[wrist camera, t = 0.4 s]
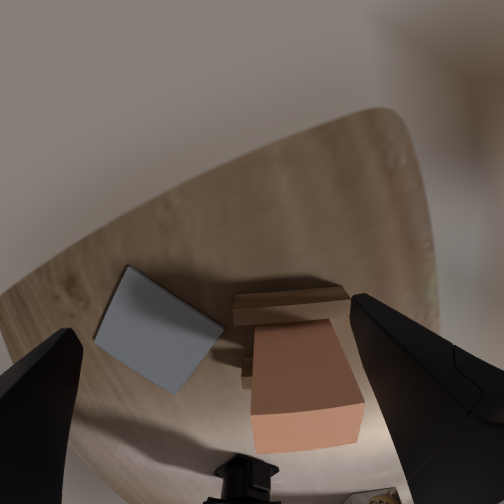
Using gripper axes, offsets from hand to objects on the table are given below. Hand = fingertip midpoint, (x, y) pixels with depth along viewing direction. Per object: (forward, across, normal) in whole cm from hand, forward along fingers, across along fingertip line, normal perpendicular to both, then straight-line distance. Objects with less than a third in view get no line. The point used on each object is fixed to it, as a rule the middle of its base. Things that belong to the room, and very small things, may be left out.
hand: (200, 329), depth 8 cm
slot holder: (+13, -4, +12) cm, 18 cm away
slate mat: (+14, +9, +12) cm, 20 cm away
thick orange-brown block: (+13, -4, +12) cm, 18 cm away
